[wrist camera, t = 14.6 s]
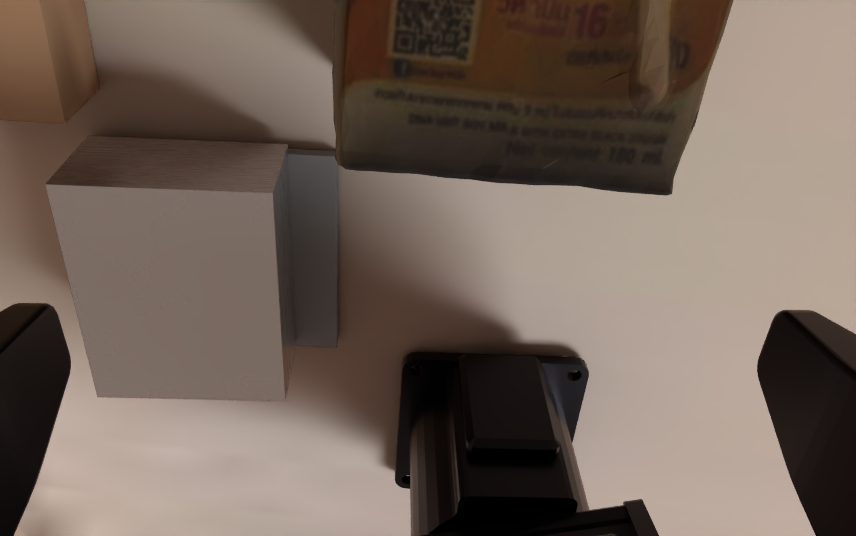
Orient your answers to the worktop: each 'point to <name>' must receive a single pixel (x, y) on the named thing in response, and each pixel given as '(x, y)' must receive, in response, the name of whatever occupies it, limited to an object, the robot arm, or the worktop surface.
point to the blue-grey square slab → (315, 245)
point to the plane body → (45, 60)
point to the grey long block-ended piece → (523, 88)
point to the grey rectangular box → (180, 265)
